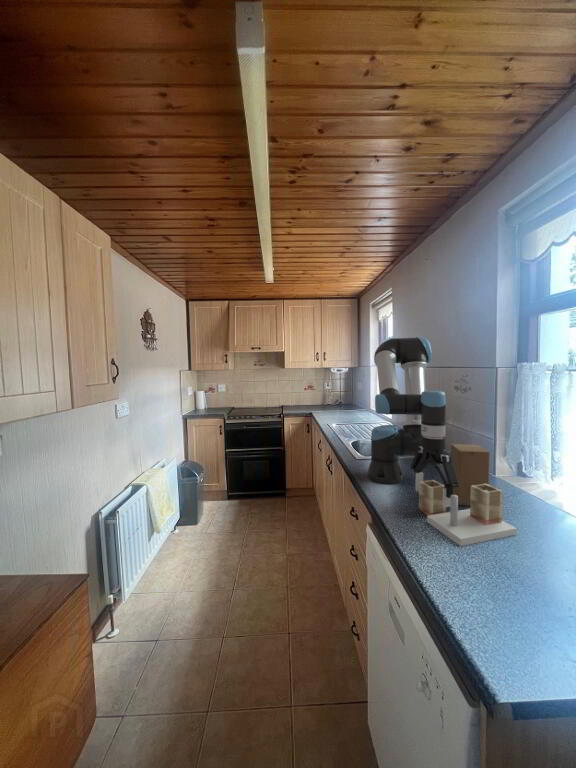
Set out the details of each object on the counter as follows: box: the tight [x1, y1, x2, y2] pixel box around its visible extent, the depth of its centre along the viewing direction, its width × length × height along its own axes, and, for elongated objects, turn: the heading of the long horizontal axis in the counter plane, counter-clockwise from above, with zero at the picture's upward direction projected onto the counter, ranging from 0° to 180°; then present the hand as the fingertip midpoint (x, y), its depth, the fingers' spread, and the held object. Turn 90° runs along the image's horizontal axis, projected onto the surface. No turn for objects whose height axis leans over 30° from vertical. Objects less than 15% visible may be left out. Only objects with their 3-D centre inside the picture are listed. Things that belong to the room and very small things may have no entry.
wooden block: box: [450, 443, 490, 507], centre depth 116 cm, size 10×10×20 cm
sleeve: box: [418, 479, 447, 516], centre depth 108 cm, size 6×6×10 cm
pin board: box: [426, 490, 518, 547], centre depth 97 cm, size 14×20×11 cm
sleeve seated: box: [469, 484, 504, 525], centre depth 99 cm, size 6×6×10 cm
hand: (432, 498), depth 107 cm, fingers open, 13 cm apart
